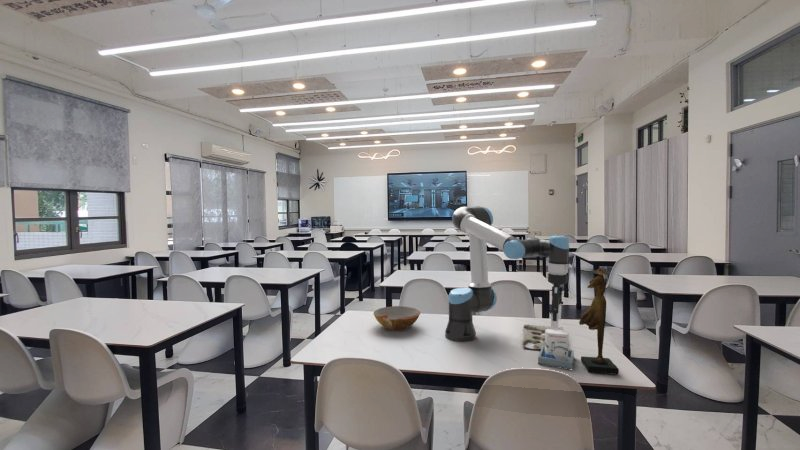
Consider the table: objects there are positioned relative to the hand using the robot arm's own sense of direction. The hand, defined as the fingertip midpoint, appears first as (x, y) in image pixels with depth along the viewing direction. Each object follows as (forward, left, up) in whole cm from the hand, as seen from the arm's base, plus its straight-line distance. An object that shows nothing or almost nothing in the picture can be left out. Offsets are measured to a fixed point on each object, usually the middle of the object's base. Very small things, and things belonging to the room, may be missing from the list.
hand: (556, 323), depth 154 cm
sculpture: (+15, -1, -16) cm, 22 cm away
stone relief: (-7, +24, -16) cm, 30 cm away
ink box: (0, 0, -15) cm, 15 cm away
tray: (0, 0, -16) cm, 16 cm away
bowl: (-80, +7, -16) cm, 82 cm away
